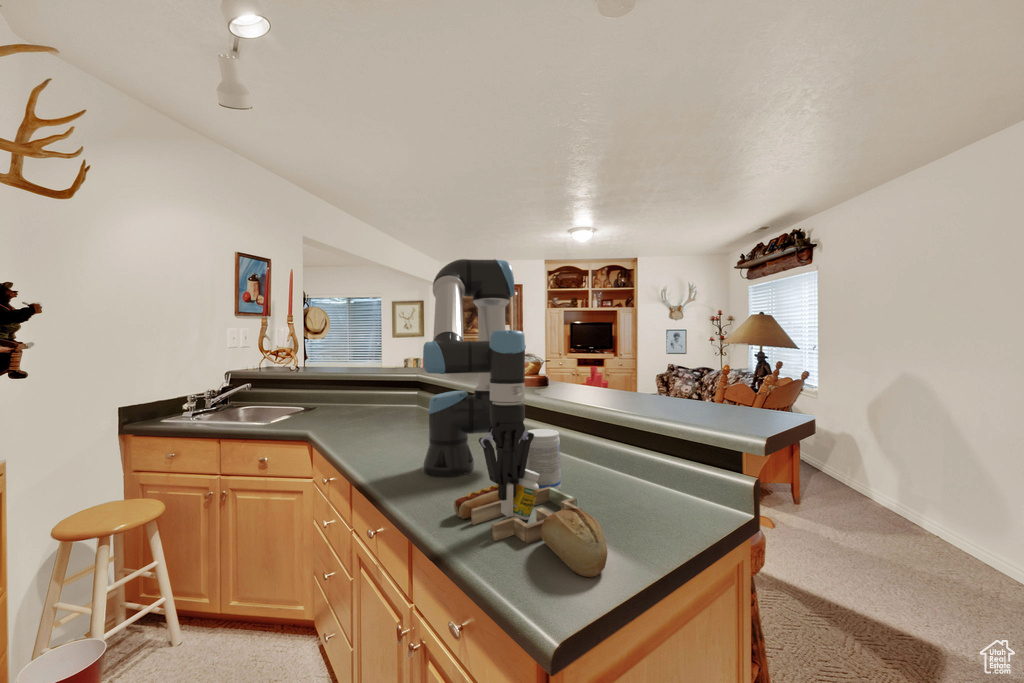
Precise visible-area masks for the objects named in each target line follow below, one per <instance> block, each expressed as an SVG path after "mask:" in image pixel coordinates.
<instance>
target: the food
mask: <svg viewBox="0 0 1024 683" xmlns="http://www.w3.org/2000/svg"><path fill="white" fill-rule="evenodd" d="M497 501H501V499H499V497H498V484H495V485H489V486H488V487H486V488H481V489H479V490H478V491H471V492H469V493H468V494H466V495H462V496H460V497H457V498H455V499H454V502H453V509H454V512H455V515H456V516H457V517H459V518H461V519H462V520H465V519H466V518H467V519H469V518H471V509H473V508H477V507H480V506H484V505H487V504H490V503H494V502H497Z"/></svg>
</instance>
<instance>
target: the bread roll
mask: <svg viewBox="0 0 1024 683" xmlns="http://www.w3.org/2000/svg"><path fill="white" fill-rule="evenodd" d="M541 537H542V541H543V542H544V543H545V545H546V546H547V547H548V548H549V549H550V550H551V551H552V552H553V553H554V554H556V556H558V558H559V559H560V560H561V561H562V562H563V563H564V564H565V565H566V566H567V567H568V568H569V569H570V570H571V571H573V572H575V573H576V574H578V575H579V576H581V577H582V576H583V577H586V578H592V577H593V578H594V577H596V576H598V575H600V574H601V573H602V572H603V571H604V569H605V567H606V564H607V561H608V560H607V559H608V553H609V552H608V547H607V542H606V538H605V534H604V532H603V530H602V528H601V526H600V524H599V522H598V521H597V520H596V519H595V518H594V517H593V516H592V515H591V514H589V513H587V512H586V511H584V510H583V509H582V510H580V509H576V508H570V509H567V510H561V509H560V510H558V511H555V512H553V513H552V514H551V515H549V516H548V517H547V518H545V520H544V522H543V524H542V527H541Z"/></svg>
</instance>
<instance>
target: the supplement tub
mask: <svg viewBox="0 0 1024 683" xmlns="http://www.w3.org/2000/svg"><path fill="white" fill-rule="evenodd" d="M527 431H528V432H530V433H533V434H534V438H533V440H532V442H531V444H530V448H529V453H528V458H527V463H526V469H528V470H531V471H534V472H536V473H538V474H539V479H538V481H536V483H537V484H538V486H539V489H542V488H546V487H549V486H550V487H552V488H554V489H557V490H559V491H560V489H561V486H562V482H561V481H562V480H561V478H562V476H561V475H562V474H561V443H560V442H561V441H560V433H559V431H557V430H555V429H550V428H549V429H548V428H534V429H529V430H527ZM539 489H538V490H539Z"/></svg>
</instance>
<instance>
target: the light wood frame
mask: <svg viewBox="0 0 1024 683" xmlns="http://www.w3.org/2000/svg"><path fill="white" fill-rule="evenodd" d="M546 502H551V503H553V504H555V505H557V506H558V507H560V511H561V510H567V509H570V508H576V509H580V510H582V511H583V509H582V508H581V507H578V498H576V497H574V496H572V495H571V494H567V493H565V492H563V491H561V490H560V489H559V490H557V489H554V488H552V487H550V486H549V487H546V488H542V489H539V490H538V493H537V496H536V499H535V502H534V506H538V505H541V504H544V503H546ZM534 506H533V507H534ZM535 512H536V513H535V514H536V516H535V519H536V521H535V522H532V523H530V524H528V523H526V522H525V521H523V519H520V518H517V517H514V516H511V517H509V518H506V519H503V520H501V521H497V522H494V523H492V526H491V527H492V532H491V533H492V540H493V541H495V542H497V541H500V540H502V539H506V538H508V537H510V536H514V535H515V537H517V538H518V539H520V540H521V541H523V542H524V543H526V544H528V545H529V544H531V543H534V542H536V541H538V540H541V539H542V537H541V527H542V524H543V522H544V520H545V518H547V517H548V516H549V515H551V514H553V513H552V512H550V511H549V510H547V509H545V508H543V507H540V508H536V509H535ZM503 516H505V515H504V514H502V513H501V501H497V502H494V503H490V504H487V505H484V506H480V507H477V508H473V509H471V517H470V518H471V524H472V525H473V526H474V525H477V524H478V525H479V524H480V523H484V522H487V521H490V520H492V519H497V518H499V517H503ZM542 540H543V539H542Z"/></svg>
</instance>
